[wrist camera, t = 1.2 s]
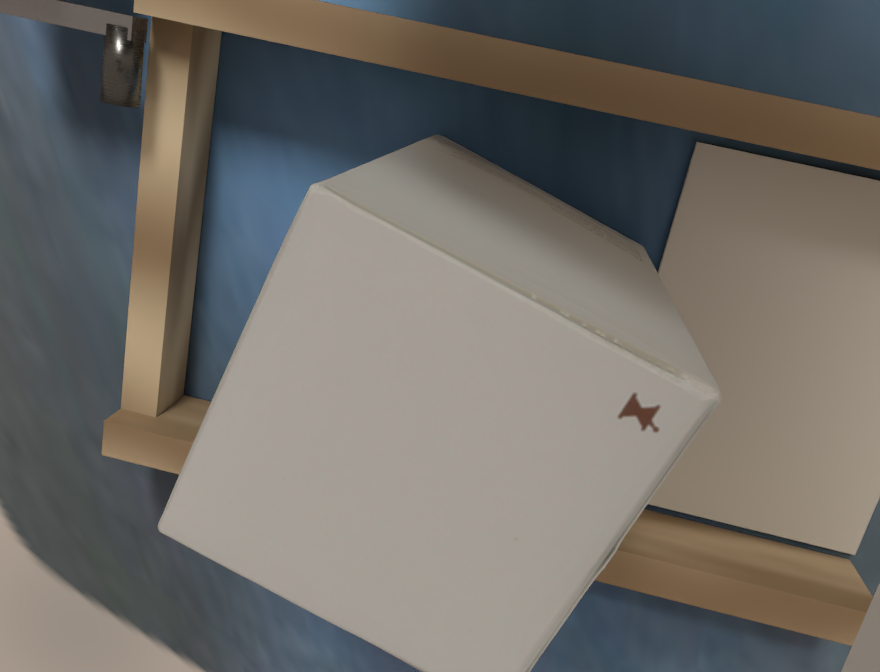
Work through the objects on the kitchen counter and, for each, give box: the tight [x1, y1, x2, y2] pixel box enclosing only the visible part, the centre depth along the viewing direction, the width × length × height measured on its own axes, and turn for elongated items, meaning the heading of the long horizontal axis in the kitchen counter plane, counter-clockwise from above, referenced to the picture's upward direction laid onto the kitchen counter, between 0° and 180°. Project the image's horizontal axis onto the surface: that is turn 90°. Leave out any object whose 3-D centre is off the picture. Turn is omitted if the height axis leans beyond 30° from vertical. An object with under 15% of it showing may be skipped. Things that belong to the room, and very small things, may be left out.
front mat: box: [648, 142, 880, 555], centre depth 24 cm, size 11×8×1 cm
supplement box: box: [158, 134, 722, 672], centre depth 19 cm, size 7×7×13 cm
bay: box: [102, 0, 880, 646], centre depth 23 cm, size 14×24×3 cm, turn 79°
